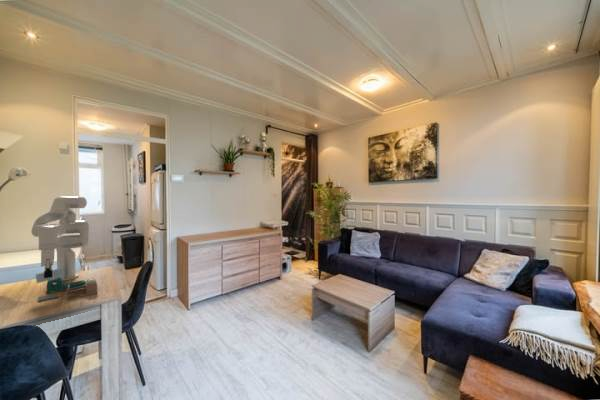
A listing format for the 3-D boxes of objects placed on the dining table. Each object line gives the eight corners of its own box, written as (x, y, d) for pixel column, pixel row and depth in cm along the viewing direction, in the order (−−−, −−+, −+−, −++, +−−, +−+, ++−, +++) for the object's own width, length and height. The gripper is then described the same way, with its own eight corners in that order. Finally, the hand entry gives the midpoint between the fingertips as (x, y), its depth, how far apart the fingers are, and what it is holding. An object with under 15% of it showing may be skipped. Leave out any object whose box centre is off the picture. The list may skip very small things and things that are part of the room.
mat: (38, 298, 137) (38, 297, 137) (58, 294, 143) (58, 293, 143) (38, 302, 132) (38, 301, 132) (58, 297, 138) (58, 296, 138)
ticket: (37, 282, 134) (35, 273, 134) (63, 275, 142) (62, 267, 142) (37, 283, 133) (35, 274, 132) (64, 276, 141) (62, 268, 140)
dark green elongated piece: (46, 293, 143) (46, 281, 143) (47, 290, 148) (47, 278, 148) (85, 285, 156) (85, 274, 156) (85, 282, 161) (85, 271, 161)
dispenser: (67, 295, 141) (67, 281, 141) (95, 289, 150) (95, 276, 150) (68, 299, 135) (67, 285, 135) (97, 293, 145) (97, 279, 145)
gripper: (39, 245, 139) (39, 275, 139) (37, 249, 128) (37, 282, 128) (57, 243, 145) (57, 272, 145) (57, 247, 134) (57, 278, 134)
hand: (48, 276), depth 137 cm, fingers closed on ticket, 2 cm apart
